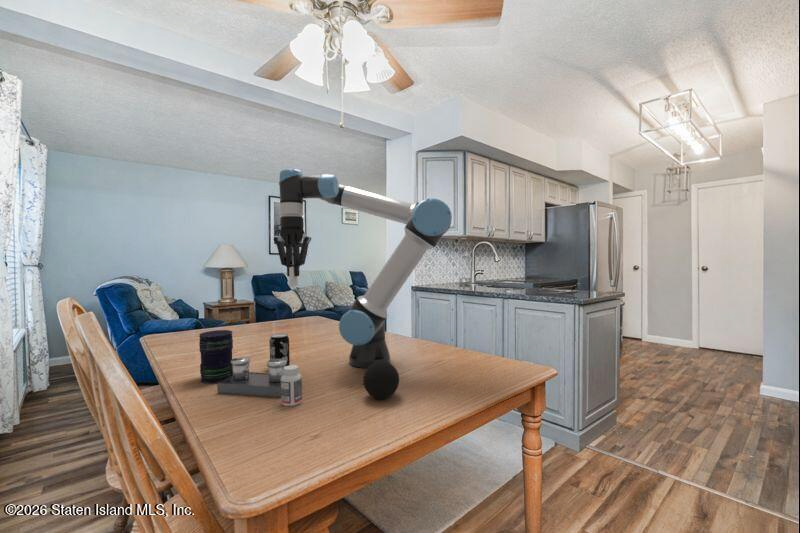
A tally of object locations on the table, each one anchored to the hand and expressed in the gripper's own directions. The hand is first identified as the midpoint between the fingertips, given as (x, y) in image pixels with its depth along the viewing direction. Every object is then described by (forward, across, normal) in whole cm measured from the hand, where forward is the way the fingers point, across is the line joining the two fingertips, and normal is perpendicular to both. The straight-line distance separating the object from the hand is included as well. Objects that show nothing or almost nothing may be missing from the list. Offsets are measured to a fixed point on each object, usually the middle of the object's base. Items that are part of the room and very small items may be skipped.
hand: (293, 286), depth 128 cm
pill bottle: (+30, -12, +25) cm, 41 cm away
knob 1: (+29, +9, +17) cm, 35 cm away
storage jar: (+30, +22, +11) cm, 38 cm away
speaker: (+30, -35, +17) cm, 49 cm away
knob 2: (+29, -3, +17) cm, 34 cm away
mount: (+29, +3, +17) cm, 34 cm away
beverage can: (+30, +7, -2) cm, 30 cm away
